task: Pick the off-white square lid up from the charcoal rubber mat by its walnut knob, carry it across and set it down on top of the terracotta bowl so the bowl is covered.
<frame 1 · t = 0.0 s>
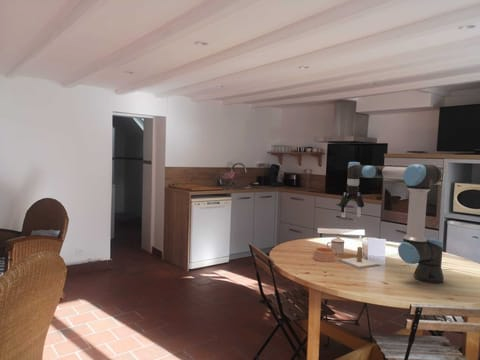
hand: (351, 217, 243), 28 cm above the table, tool pointing down, fingers open, 13 cm apart
lid: (359, 255, 232), on the mat
bowl: (323, 259, 238), on the table
mat: (359, 263, 232), on the table
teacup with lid: (335, 253, 258), on the table
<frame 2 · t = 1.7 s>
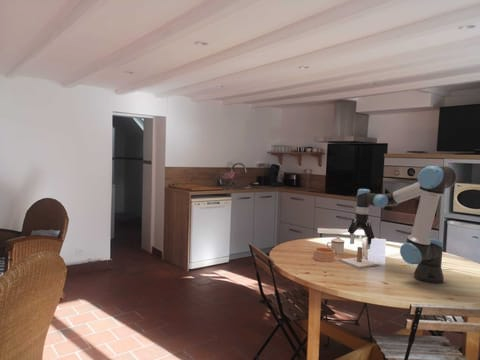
hand: (359, 246, 232), 11 cm above the table, tool pointing down, fingers open, 13 cm apart
nothing on the table moved.
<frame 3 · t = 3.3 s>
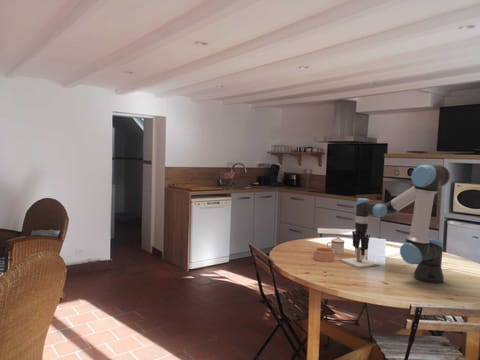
hand: (359, 259, 232), 3 cm above the table, tool pointing down, fingers closed on lid, 3 cm apart
lid: (359, 255, 232), on the mat, touching gripper
everything else where it was.
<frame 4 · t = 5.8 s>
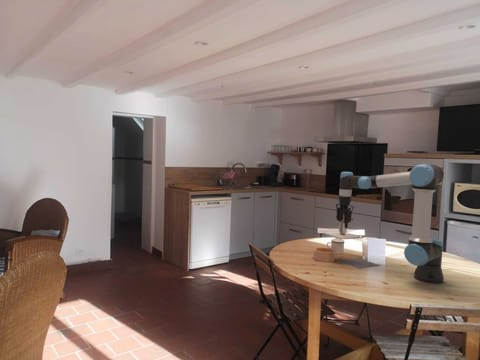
hand: (342, 232, 235), 19 cm above the table, tool pointing down, fingers closed on lid, 3 cm apart
lid: (342, 228, 234), point 22 cm above the table, touching gripper
everything else where it was.
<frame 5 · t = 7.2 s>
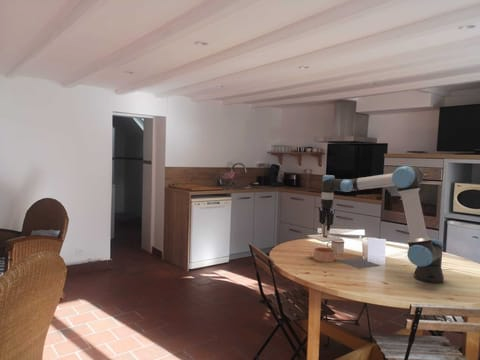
hand: (325, 234, 237), 17 cm above the table, tool pointing down, fingers closed on lid, 3 cm apart
lid: (325, 230, 237), point 19 cm above the table, touching gripper
everything else where it was.
when the fingers open (11 cm above the table, at t = 8.3 s): lid drops 1 cm, resting on bowl.
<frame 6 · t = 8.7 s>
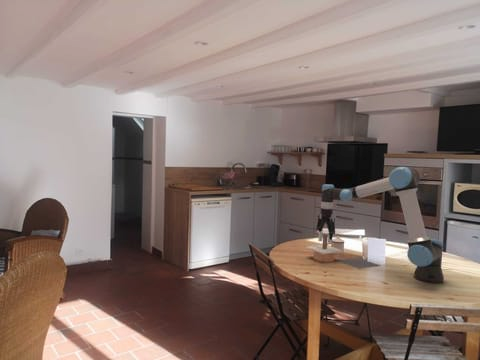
hand: (324, 242, 238), 11 cm above the table, tool pointing down, fingers open, 8 cm apart
lid: (324, 242, 238), on the bowl, point 12 cm above the table
everything else where it was.
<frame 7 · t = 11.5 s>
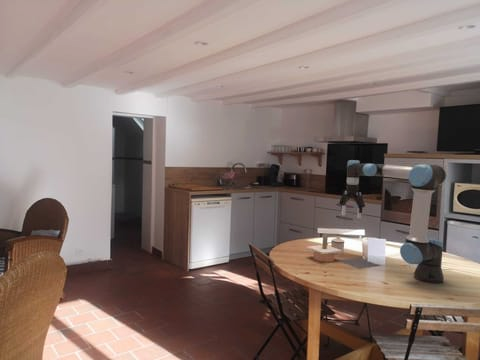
hand: (351, 216, 238), 29 cm above the table, tool pointing down, fingers open, 13 cm apart
nothing on the table moved.
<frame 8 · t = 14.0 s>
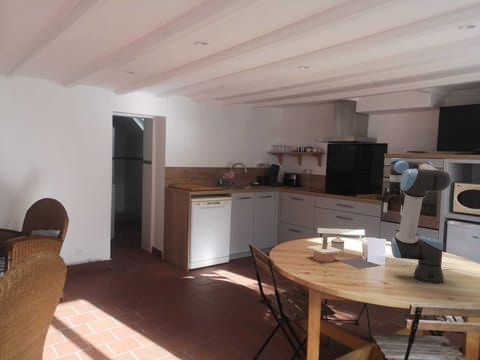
hand: (393, 213, 240), 32 cm above the table, tool pointing down, fingers open, 13 cm apart
nothing on the table moved.
at the end: lid 0.0 cm off-centre on the bowl, point 11.5 cm above the bowl's base; lid tilted 0°; the gripper is holding nothing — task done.
